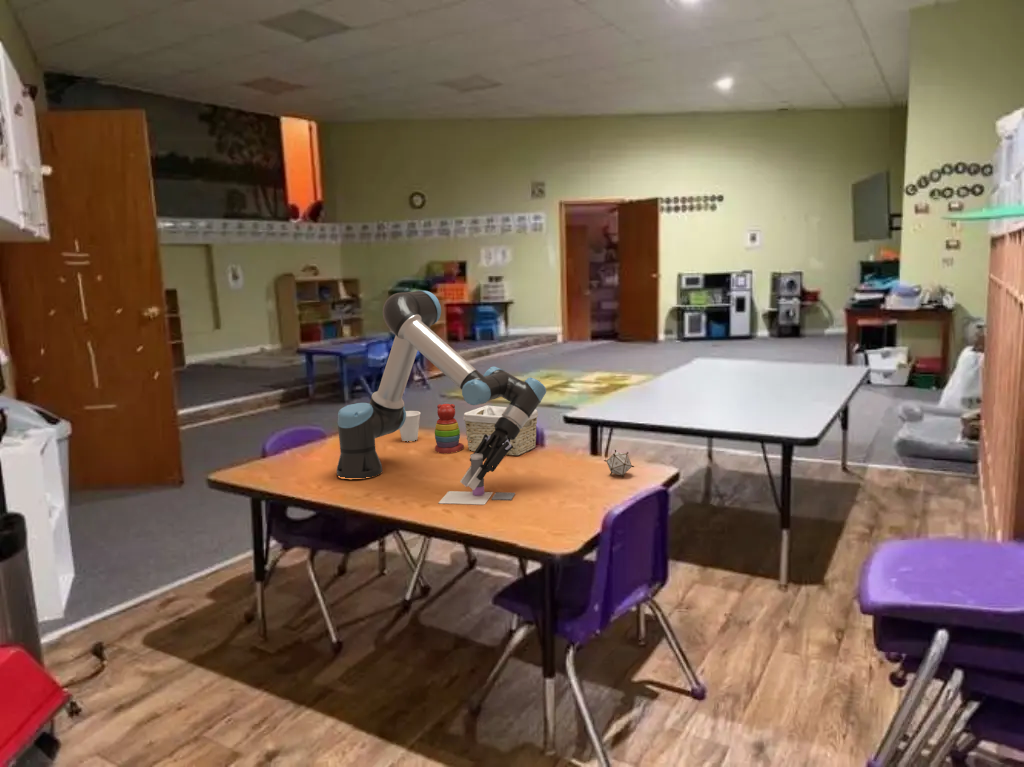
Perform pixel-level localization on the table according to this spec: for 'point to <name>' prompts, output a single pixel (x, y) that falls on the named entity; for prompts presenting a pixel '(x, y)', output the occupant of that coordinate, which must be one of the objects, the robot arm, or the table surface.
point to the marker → (475, 464)
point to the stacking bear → (447, 430)
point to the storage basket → (484, 422)
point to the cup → (410, 426)
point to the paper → (465, 498)
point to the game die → (619, 463)
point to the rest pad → (503, 496)
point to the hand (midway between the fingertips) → (467, 485)
